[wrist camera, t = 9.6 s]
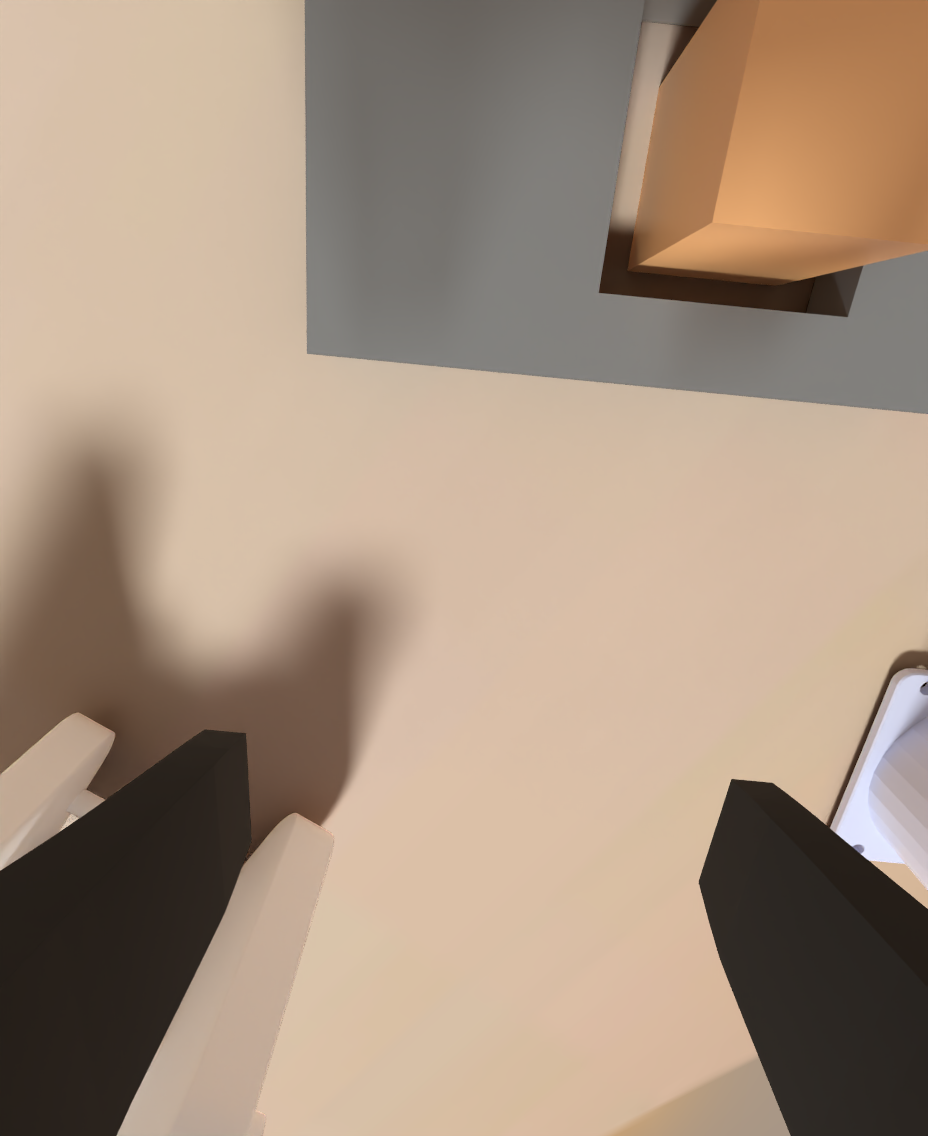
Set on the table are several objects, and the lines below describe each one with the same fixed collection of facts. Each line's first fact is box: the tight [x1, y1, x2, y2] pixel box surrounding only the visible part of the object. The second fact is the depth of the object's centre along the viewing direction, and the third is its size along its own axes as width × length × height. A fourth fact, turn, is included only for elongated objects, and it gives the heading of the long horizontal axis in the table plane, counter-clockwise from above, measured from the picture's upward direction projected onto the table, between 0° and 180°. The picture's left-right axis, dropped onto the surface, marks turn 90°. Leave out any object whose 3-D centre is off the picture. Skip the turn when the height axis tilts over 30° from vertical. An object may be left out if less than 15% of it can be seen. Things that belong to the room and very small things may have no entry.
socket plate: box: [305, 0, 928, 414], centre depth 13 cm, size 16×12×2 cm
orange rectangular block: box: [627, 0, 928, 286], centre depth 12 cm, size 4×4×6 cm
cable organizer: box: [0, 713, 334, 1136], centre depth 18 cm, size 15×11×12 cm
